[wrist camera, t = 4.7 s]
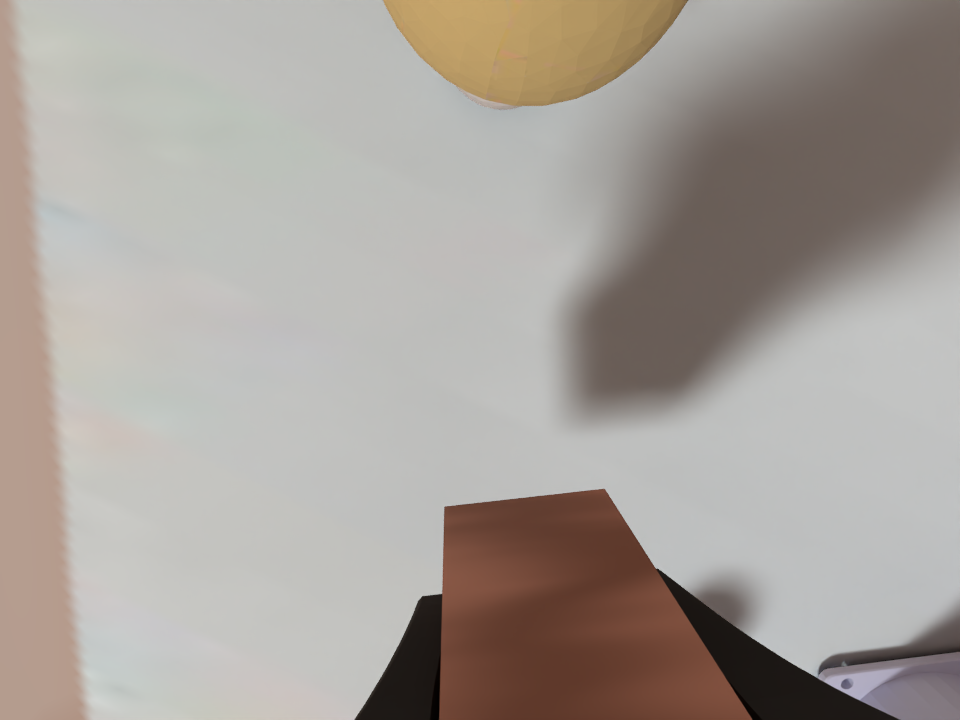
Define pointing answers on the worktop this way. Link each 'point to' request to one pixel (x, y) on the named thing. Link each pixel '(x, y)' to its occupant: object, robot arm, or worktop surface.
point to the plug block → (565, 620)
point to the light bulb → (531, 44)
